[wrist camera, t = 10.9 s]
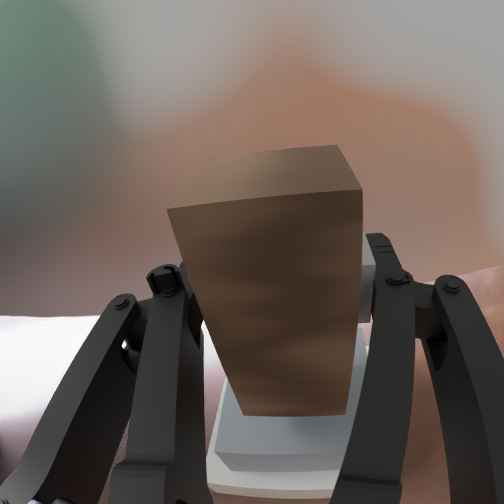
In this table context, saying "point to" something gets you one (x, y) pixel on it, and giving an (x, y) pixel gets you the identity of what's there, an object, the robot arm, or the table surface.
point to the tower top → (288, 433)
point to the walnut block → (277, 274)
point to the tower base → (265, 476)
